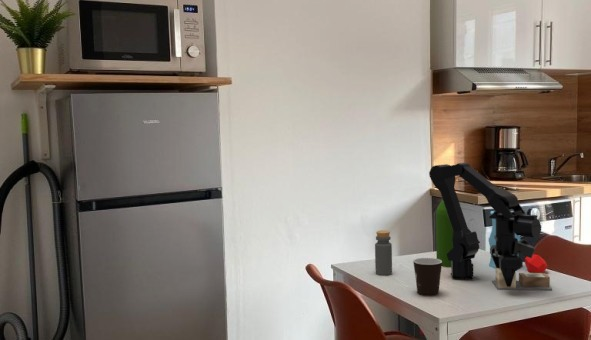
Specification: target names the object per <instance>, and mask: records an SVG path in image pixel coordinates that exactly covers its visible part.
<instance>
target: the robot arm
mask: <svg viewBox="0 0 591 340" xmlns="http://www.w3.org/2000/svg"><path fill="white" fill-rule="evenodd" d="M428 174H429V178H430V180H431V182H432V184H433V186H434V187H435V188H436V189H437V190H438V191H439V192H440V196H441V198H442V199H441V200H443V202H444V205H445V208H446V211H447V214H448V217H449V220H450V223H451V226H452V229H453V238H452V244H453V248H452V249H451V250H450V251H449V252H448V253H447V258H448V260H450V261H451V267H450V269H451V273H450V276H451V278H452V280H473V279H474V278H473V277H474V263H473V262H472V259H475V257H476V254H477V253H478V252H479V249H480V244H481V242H480V241H479V239H478V234H477V231H471V229H469V227H468V224H467V222H466V219H465V216H464V213H463V210H462V206H461V203H460V201H459V198H458V194H457V191H456V189H455V187H456V180H457V178H456V177H457V176H459V177H460V178H461V179H463V180H464V181H465V182H466V183H468V184H469V185H470V186H472V188H474V190H476V191H477V192H479V193H480V194H482V195H483V197H485V199H486V200H487V203H488V205H489V206H490V207H491V208H492V209H493V211H494V213H493V214H492V215H491V214H490V215H489V217H488V218H489V219H491V220H492V219H496V235H494V239H495V240H496V245H492V246H491V247H490V246H489V254H490V258H491V257H492V259H493V261H494V264H495V266H496V268H500V269H501V272H502V275H503V277H504V280H505V283H506V285H507V287H511V284H512V280H513V277H514V274H515V272H517V271H518V270H519V269H521V268H522V267H524V264H523V263H524V260H523V259H522V258H521V257H520V256H517V255H518V253H519V255H523V256H525V257H527V256H528V257H529V258H532V256H533V254H535V251H536V247H534V246H532V245H530V244H529V241H528V240H526V239H523V238H520V239H521V240H520V241H518V239H517V238H516V237H515V233H516V235H518V236H519V237H525V238H535V239H538V238H539V236H540V235H541V233H542V225H541V221H540V220H539V218H538V215H537V214H527V213H526V212H525V211H524V209H523V208H522V206H521V204H520V203H519V200H518V199H519V198H518V197H517V196H516V195H515V194H514V193H512V192H510V191H508V190H506V189H504V188H501V187H499V186H497V185H496V184H494V183H492V182H491V181H490V180H489V179H488V178H486V177H485V176H483V175H482V174H481V173H480V172H478V171H477V170H476V169H474V167H472V166H471V165H470V164H469V163H468V162H460V163H459V162H458V163H456V164H452V165H450V164H438V165H433V166H432V167H431V168H430V170H429V172H428ZM510 211H514V212H510ZM493 254H494V255H493ZM496 268H495V269H496Z"/></svg>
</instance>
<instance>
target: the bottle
mask: <svg viewBox="0 0 591 340" xmlns="http://www.w3.org/2000/svg"><path fill="white" fill-rule="evenodd" d="M375 233H376V236H375V240H377V242H376V243H375V244H374V256H375V257H374V263H375V265H374V267H375V269H374V271H375V275H378V276H382V277H383V276H391V275H392V274H393V252H392V251H393V246H392V245H393V244H392V243H391V242H390V240H391V236H390V233H391V232H390V231H389V230H376V231H375Z"/></svg>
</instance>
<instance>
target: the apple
mask: <svg viewBox="0 0 591 340" xmlns="http://www.w3.org/2000/svg"><path fill="white" fill-rule="evenodd" d="M524 264H525V267H526V269H527V271H528V273H545V272H546V270H547V268H548V264H547V262H546V260H545V259H543V258H542V257H541V256H540V255H539V254H535V253H534V254H533V256H532V258H529V257H528V256H525V258H524Z"/></svg>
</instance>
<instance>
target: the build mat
mask: <svg viewBox="0 0 591 340" xmlns="http://www.w3.org/2000/svg"><path fill="white" fill-rule="evenodd" d="M491 283H492V284H493V285H494V287H495V288H496V289H497V291H499V290H500V291H501V290H502V291H503V290H504V291H553V288H552V287H551V286H550V287H527V286H522V285H521V284H520V283H519V280H516V288H499V287H498V286H497V284H496V279H495V280H493V279H492V280H491Z"/></svg>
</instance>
